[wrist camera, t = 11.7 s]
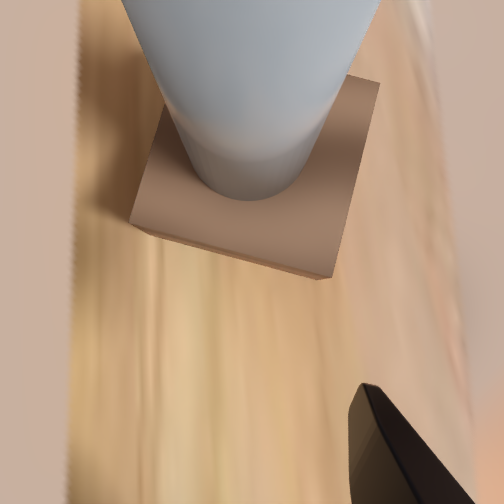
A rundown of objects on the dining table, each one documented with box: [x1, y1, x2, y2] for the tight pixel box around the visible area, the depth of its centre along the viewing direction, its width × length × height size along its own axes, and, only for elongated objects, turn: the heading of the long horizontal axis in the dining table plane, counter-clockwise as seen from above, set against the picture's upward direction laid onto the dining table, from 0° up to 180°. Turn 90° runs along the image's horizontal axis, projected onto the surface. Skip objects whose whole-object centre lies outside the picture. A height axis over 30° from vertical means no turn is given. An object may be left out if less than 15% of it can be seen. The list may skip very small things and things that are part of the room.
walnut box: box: [128, 75, 380, 280], centre depth 21 cm, size 10×10×4 cm
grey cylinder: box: [121, 0, 381, 201], centre depth 12 cm, size 6×6×13 cm
